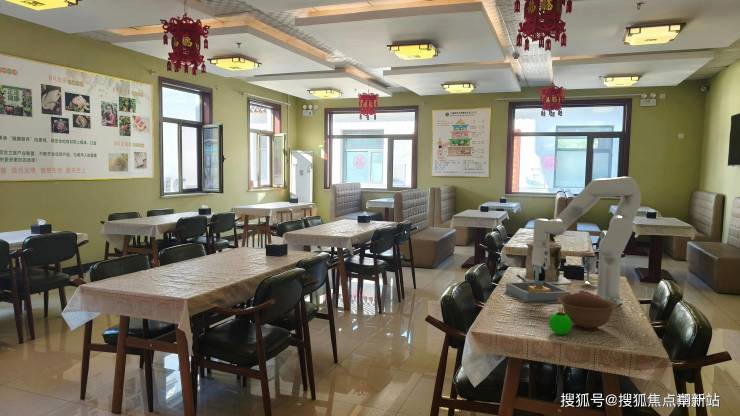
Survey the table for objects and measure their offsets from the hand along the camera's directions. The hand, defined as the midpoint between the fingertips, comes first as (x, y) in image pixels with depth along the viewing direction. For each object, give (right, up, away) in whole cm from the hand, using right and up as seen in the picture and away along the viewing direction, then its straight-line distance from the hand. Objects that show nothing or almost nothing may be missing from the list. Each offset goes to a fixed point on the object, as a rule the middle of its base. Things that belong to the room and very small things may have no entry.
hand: (539, 279), depth 249 cm
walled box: (-2, -8, -3) cm, 9 cm away
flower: (+10, -10, -31) cm, 34 cm away
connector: (0, -3, 0) cm, 3 cm away
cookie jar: (+14, -5, +36) cm, 39 cm away
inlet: (0, -8, 0) cm, 8 cm away
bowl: (+1, -12, -52) cm, 53 cm away
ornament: (-13, -12, -61) cm, 63 cm away
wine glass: (+37, -6, +30) cm, 48 cm away
